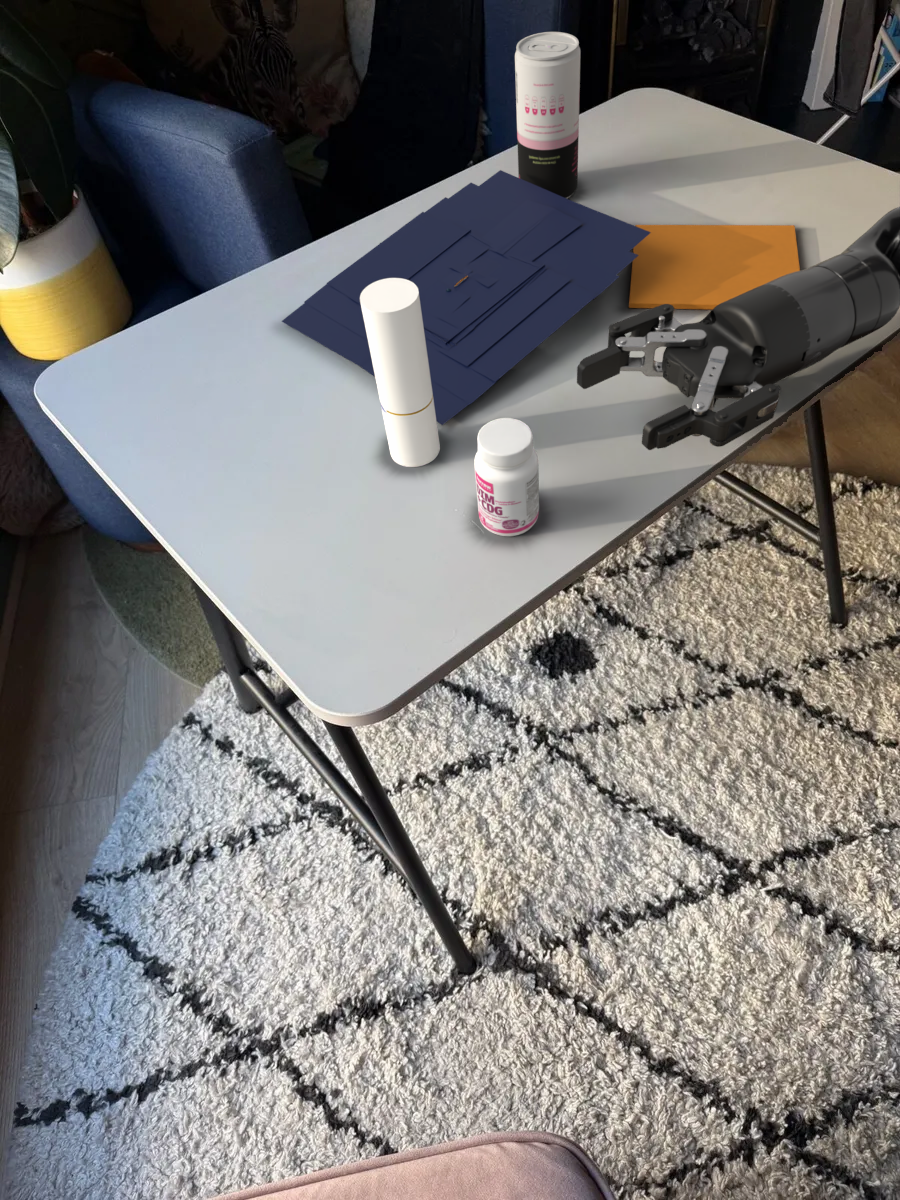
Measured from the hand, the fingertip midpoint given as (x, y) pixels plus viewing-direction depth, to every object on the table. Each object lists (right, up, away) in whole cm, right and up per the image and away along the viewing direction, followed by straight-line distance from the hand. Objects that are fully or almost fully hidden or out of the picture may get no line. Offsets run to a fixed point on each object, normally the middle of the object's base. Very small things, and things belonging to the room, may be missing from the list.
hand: (611, 407), depth 66 cm
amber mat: (+14, +18, +21) cm, 31 cm away
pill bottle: (-8, -8, +3) cm, 12 cm away
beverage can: (-1, +32, +33) cm, 45 cm away
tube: (-15, -2, +9) cm, 18 cm away
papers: (-10, +15, +21) cm, 28 cm away
